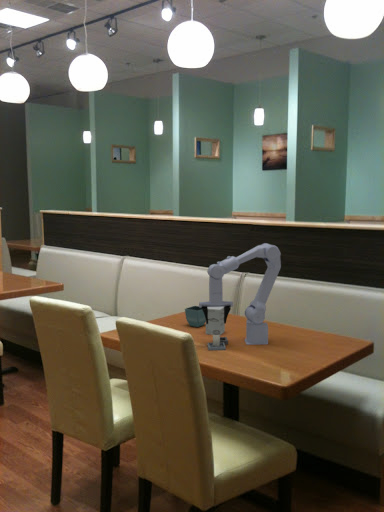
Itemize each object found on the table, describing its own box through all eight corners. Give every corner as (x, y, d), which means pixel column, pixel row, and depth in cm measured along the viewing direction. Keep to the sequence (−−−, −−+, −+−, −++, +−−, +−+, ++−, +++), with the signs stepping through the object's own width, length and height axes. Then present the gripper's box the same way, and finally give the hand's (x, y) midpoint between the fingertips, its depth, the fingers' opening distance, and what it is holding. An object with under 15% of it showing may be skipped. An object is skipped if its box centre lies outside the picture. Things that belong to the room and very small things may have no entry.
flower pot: (194, 322, 271) (194, 305, 270) (209, 325, 266) (209, 307, 265) (184, 326, 264) (184, 308, 263) (198, 328, 259) (198, 310, 258)
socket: (226, 341, 238) (226, 336, 237) (228, 345, 232) (228, 340, 231) (213, 341, 237) (213, 337, 237) (214, 345, 231) (214, 341, 231)
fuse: (219, 345, 229) (219, 330, 228) (220, 348, 225) (220, 332, 225) (212, 346, 229) (212, 330, 228) (212, 348, 225) (212, 332, 225)
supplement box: (205, 334, 248) (205, 308, 247) (210, 330, 255) (210, 305, 254) (220, 336, 246) (220, 309, 244) (225, 332, 252) (225, 306, 251)
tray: (224, 345, 231) (224, 342, 231) (225, 350, 224) (225, 347, 223) (207, 346, 230) (207, 342, 230) (208, 351, 223) (208, 347, 223)
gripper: (231, 290, 233) (231, 320, 234) (198, 290, 232) (198, 321, 234) (233, 293, 226) (233, 324, 227) (199, 294, 225) (199, 325, 227)
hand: (216, 323), depth 230 cm, fingers open, 7 cm apart
